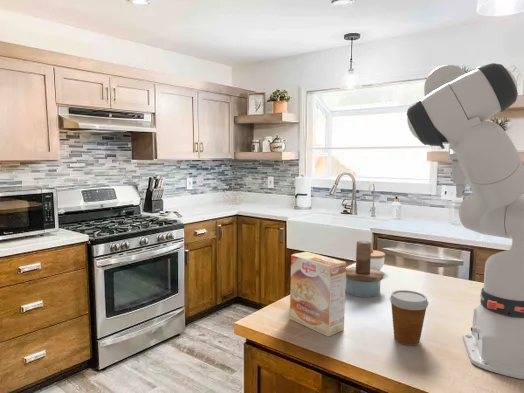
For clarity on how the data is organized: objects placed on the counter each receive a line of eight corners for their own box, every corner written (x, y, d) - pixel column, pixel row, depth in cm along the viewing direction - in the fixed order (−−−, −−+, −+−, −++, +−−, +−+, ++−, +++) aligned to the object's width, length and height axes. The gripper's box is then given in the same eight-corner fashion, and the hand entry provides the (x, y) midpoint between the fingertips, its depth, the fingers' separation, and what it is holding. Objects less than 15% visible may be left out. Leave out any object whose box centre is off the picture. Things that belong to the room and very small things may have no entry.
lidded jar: (385, 275, 157) (386, 252, 156) (358, 273, 160) (359, 251, 159) (383, 268, 168) (383, 246, 167) (357, 266, 170) (358, 245, 169)
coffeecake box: (288, 319, 114) (290, 254, 112) (305, 313, 118) (307, 250, 116) (328, 337, 102) (330, 265, 100) (344, 330, 107) (347, 261, 105)
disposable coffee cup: (402, 351, 95) (405, 304, 94) (380, 334, 105) (382, 291, 103) (434, 346, 98) (437, 300, 97) (410, 329, 107) (412, 288, 106)
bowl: (374, 299, 130) (375, 283, 130) (340, 292, 136) (340, 277, 136) (383, 289, 141) (383, 274, 140) (350, 283, 147) (351, 269, 146)
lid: (385, 283, 130) (386, 248, 128) (342, 280, 133) (343, 245, 131) (381, 271, 143) (382, 239, 142) (342, 269, 146) (343, 237, 145)
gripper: (455, 155, 138) (452, 193, 139) (449, 154, 120) (446, 198, 122) (475, 155, 135) (472, 194, 136) (472, 154, 117) (469, 199, 119)
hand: (460, 196), depth 129 cm, fingers open, 8 cm apart
